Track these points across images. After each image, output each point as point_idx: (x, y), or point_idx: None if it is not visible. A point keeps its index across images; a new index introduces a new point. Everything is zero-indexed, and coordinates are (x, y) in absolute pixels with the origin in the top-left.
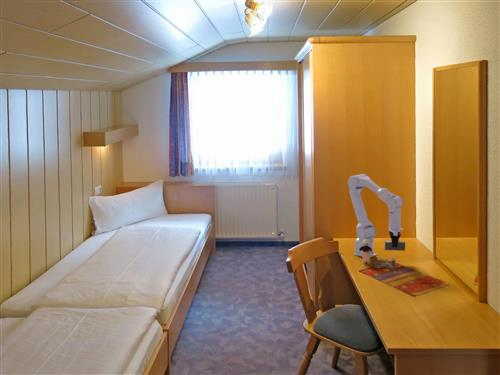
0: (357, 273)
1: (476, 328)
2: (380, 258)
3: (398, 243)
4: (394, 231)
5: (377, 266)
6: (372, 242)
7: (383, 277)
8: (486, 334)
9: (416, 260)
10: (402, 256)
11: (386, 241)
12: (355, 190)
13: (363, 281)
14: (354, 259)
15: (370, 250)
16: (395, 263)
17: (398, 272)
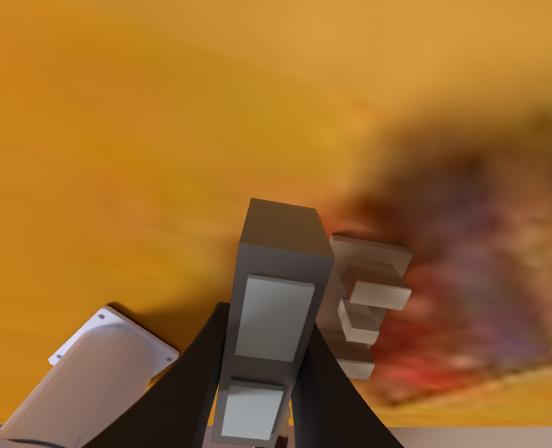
0: (422, 414)
1: None
2: (349, 364)
3: (307, 332)
4: None
5: (368, 347)
6: (78, 426)
7: (525, 341)
8: None
9: (222, 45)
10: (105, 142)
11: (226, 432)
12: None
13: (533, 410)
14: None
15: (285, 442)
16: (341, 253)
17: (481, 260)
